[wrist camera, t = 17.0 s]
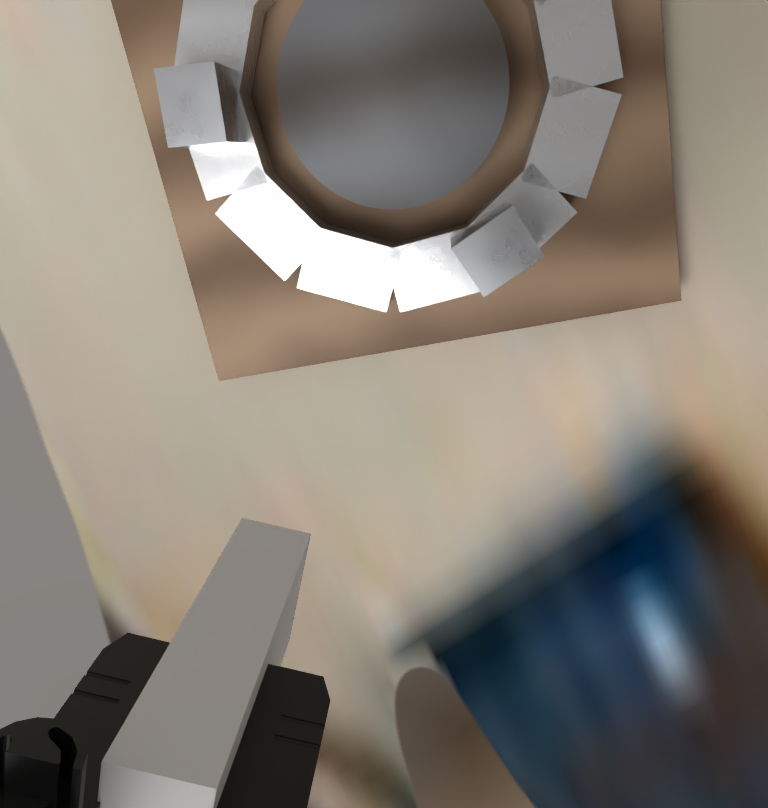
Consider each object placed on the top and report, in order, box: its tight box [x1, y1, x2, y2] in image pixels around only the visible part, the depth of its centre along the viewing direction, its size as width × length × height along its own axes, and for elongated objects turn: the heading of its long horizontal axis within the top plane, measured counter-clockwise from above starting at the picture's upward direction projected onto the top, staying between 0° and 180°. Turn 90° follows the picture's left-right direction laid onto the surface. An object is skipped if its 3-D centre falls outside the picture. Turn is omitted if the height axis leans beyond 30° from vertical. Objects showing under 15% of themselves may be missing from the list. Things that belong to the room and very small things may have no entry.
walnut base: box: [111, 0, 681, 381], centre depth 33 cm, size 24×24×4 cm
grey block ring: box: [154, 0, 623, 312], centre depth 30 cm, size 19×19×5 cm
